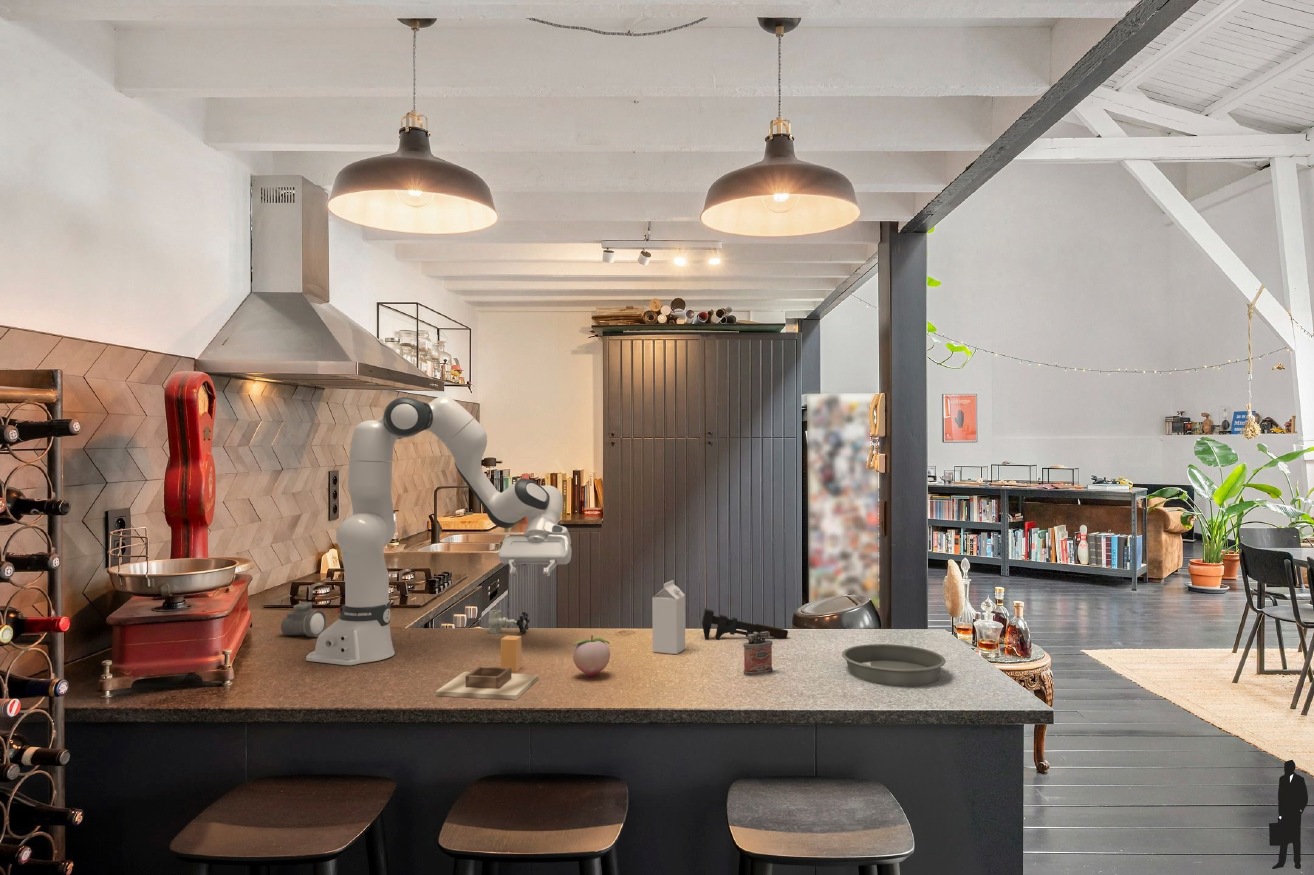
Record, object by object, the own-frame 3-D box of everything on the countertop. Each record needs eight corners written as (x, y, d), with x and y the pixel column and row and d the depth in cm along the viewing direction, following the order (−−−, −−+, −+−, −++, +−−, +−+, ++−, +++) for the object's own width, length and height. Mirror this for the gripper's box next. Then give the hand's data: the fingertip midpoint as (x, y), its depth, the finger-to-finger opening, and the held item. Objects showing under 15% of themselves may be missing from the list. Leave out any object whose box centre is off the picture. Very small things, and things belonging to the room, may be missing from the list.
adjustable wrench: (783, 656, 224) (699, 638, 224) (781, 653, 227) (699, 636, 226) (789, 627, 224) (705, 610, 224) (787, 625, 227) (704, 608, 227)
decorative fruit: (583, 683, 181) (582, 641, 182) (568, 675, 188) (568, 634, 189) (617, 677, 186) (617, 636, 187) (601, 669, 193) (601, 629, 194)
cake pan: (913, 658, 204) (913, 641, 204) (966, 685, 179) (966, 666, 180) (826, 662, 200) (826, 645, 200) (868, 691, 175) (868, 672, 175)
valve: (484, 634, 232) (521, 636, 229) (484, 612, 232) (521, 614, 229) (493, 629, 238) (529, 631, 236) (493, 608, 238) (529, 609, 236)
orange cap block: (500, 671, 192) (500, 639, 192) (506, 666, 196) (506, 635, 196) (516, 671, 192) (516, 639, 192) (521, 667, 195) (521, 636, 196)
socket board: (435, 695, 173) (435, 680, 173) (464, 675, 188) (464, 661, 189) (516, 699, 170) (516, 683, 170) (538, 678, 185) (538, 664, 185)
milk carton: (652, 652, 210) (652, 583, 210) (661, 646, 216) (661, 579, 217) (676, 655, 207) (676, 584, 207) (685, 648, 214) (685, 580, 214)
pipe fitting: (330, 632, 233) (325, 599, 233) (312, 640, 225) (307, 606, 225) (297, 634, 236) (292, 602, 236) (278, 643, 228) (273, 609, 228)
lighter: (748, 676, 186) (748, 635, 187) (740, 673, 189) (740, 632, 190) (775, 672, 190) (775, 631, 190) (767, 668, 193) (767, 629, 193)
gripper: (502, 527, 217) (489, 567, 208) (572, 527, 214) (562, 568, 204) (508, 541, 222) (496, 581, 212) (576, 541, 218) (567, 582, 209)
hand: (529, 574), depth 208 cm, fingers open, 8 cm apart
